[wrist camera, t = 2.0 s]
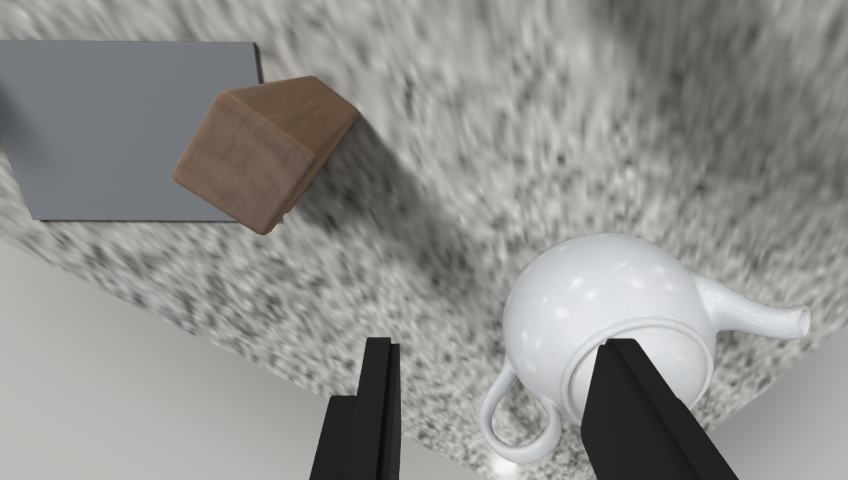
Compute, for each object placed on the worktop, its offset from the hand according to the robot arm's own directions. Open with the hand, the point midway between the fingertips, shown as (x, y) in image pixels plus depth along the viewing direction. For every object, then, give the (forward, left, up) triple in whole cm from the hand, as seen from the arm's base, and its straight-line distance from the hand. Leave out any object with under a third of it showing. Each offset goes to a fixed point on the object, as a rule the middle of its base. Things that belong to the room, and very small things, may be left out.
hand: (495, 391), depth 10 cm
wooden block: (+11, 0, -27) cm, 29 cm away
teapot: (-14, +16, -28) cm, 35 cm away
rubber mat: (+24, 0, -27) cm, 37 cm away
